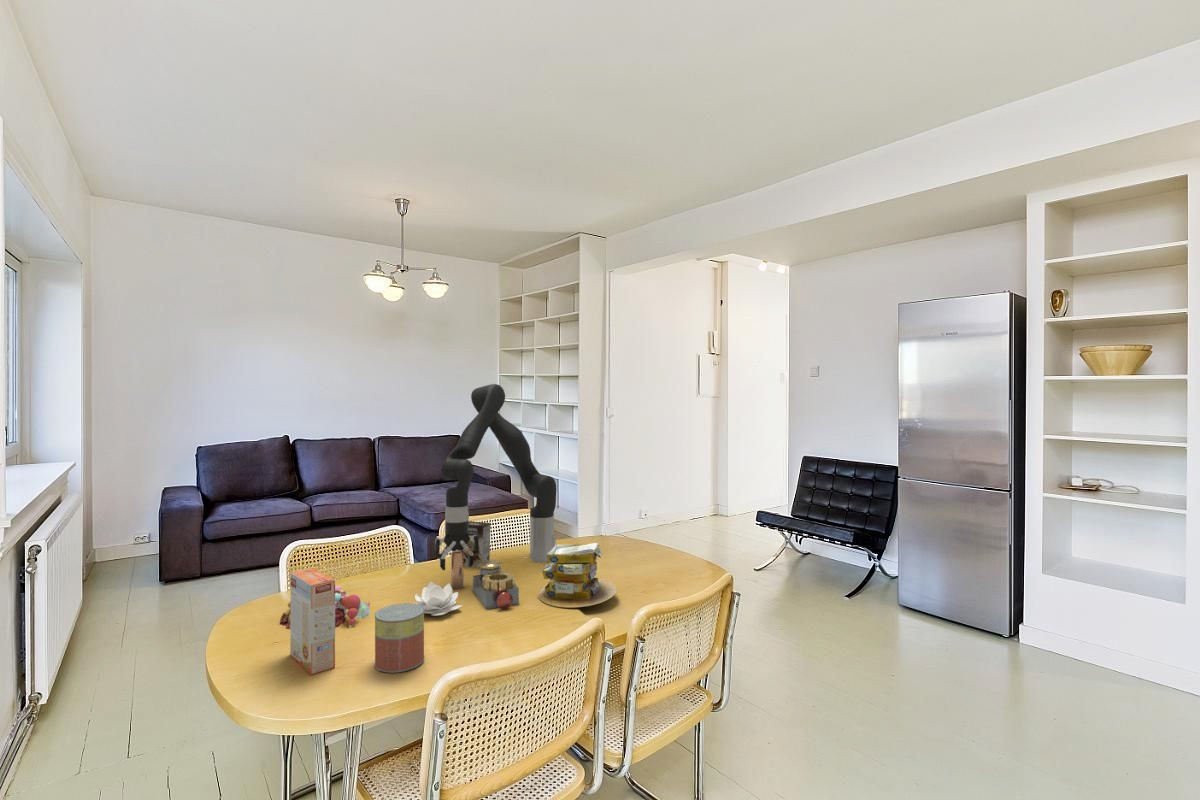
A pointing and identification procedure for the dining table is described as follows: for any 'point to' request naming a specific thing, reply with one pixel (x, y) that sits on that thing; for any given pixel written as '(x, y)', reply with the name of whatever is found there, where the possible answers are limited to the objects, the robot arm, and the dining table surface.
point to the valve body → (495, 586)
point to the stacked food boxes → (574, 577)
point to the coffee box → (484, 543)
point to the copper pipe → (457, 569)
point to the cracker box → (313, 620)
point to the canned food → (399, 637)
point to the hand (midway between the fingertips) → (456, 568)
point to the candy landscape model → (339, 609)
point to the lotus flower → (437, 599)
